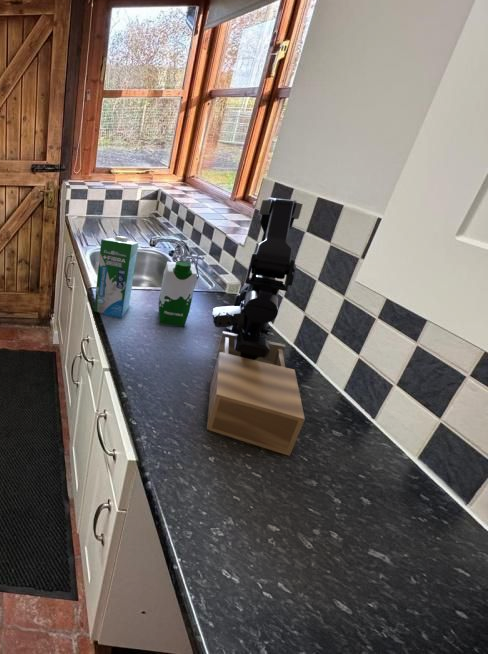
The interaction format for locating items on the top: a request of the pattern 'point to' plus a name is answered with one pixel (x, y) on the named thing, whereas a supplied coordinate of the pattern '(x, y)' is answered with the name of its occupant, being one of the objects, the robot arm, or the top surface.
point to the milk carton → (115, 275)
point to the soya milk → (176, 293)
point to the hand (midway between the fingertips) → (242, 359)
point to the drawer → (273, 357)
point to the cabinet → (255, 403)
